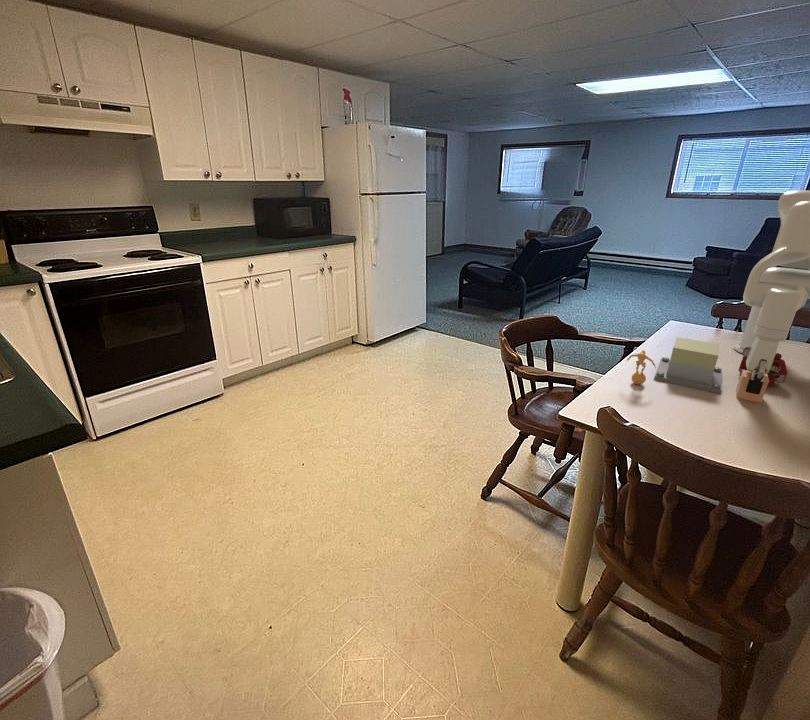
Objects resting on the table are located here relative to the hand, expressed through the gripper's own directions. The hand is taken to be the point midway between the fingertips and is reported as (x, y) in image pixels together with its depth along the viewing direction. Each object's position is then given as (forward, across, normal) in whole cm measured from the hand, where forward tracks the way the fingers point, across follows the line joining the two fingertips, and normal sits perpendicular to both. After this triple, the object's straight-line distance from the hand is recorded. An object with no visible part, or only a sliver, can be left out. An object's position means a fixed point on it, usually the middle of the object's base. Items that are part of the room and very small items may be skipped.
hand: (751, 386), depth 130 cm
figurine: (+4, +11, -29) cm, 31 cm away
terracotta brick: (+3, 0, 0) cm, 3 cm away
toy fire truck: (+3, -16, +3) cm, 16 cm away
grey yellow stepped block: (+3, -6, -16) cm, 18 cm away
